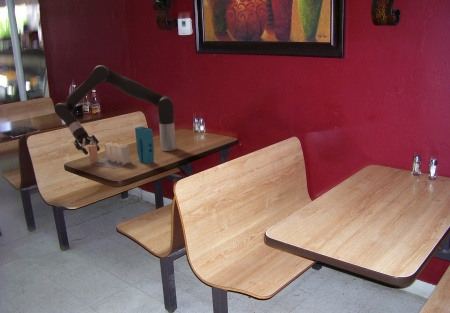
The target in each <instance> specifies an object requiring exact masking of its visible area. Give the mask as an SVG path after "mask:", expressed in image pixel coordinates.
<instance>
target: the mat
mask: <svg viewBox="0 0 450 313" xmlns="http://www.w3.org/2000/svg"><path fill="white" fill-rule="evenodd" d="M131 163H134V161H132V160H130V162H129V163H126V164H122V162H120V163H117V161H114V162H111V160H109V161H106V155H105V156H104V157H100V158H98V161H97V162H94V163H90V161H88V162H87V164H90V165H94V166H95V165H96V166H99V167H104V168H108V169H111V170H112V169H113V170H115V169H117V168H120V167H123V166H126V165H130V164H131Z"/></svg>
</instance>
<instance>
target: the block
mask: <svg viewBox="0 0 450 313" xmlns="http://www.w3.org/2000/svg"><path fill="white" fill-rule="evenodd" d="M134 129H135V131H134V132H135V140H136V143H135V144H136V151H137V152H136V153H137V156H138V161H139V162H140V163H143V164H144V165H149V164H153V163H154V160H155V159H154V158H155V145H154V135H153V129H152V128H148V127H145V126H138V127H137V126H136V127H135V128H134Z"/></svg>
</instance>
